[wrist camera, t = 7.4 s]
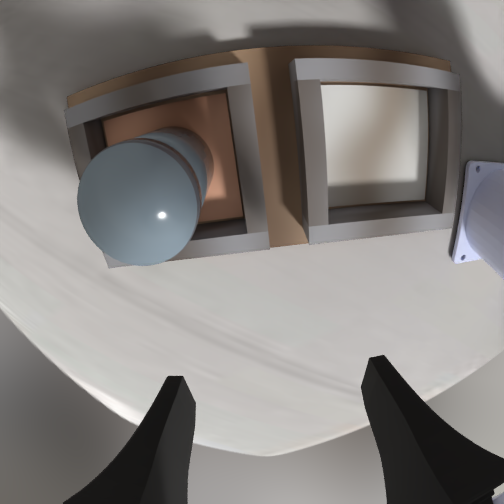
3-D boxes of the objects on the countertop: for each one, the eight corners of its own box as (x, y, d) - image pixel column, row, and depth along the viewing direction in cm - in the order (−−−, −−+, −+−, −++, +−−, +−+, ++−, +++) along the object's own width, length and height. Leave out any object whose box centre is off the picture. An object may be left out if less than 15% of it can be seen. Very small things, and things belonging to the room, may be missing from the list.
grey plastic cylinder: (207, 117, 13) (183, 127, 8) (221, 201, 15) (210, 259, 10) (123, 136, 13) (62, 160, 8) (142, 214, 16) (99, 272, 10)
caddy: (440, 61, 12) (470, 60, 9) (437, 221, 17) (460, 241, 15) (75, 96, 13) (46, 98, 10) (117, 258, 18) (100, 284, 16)
